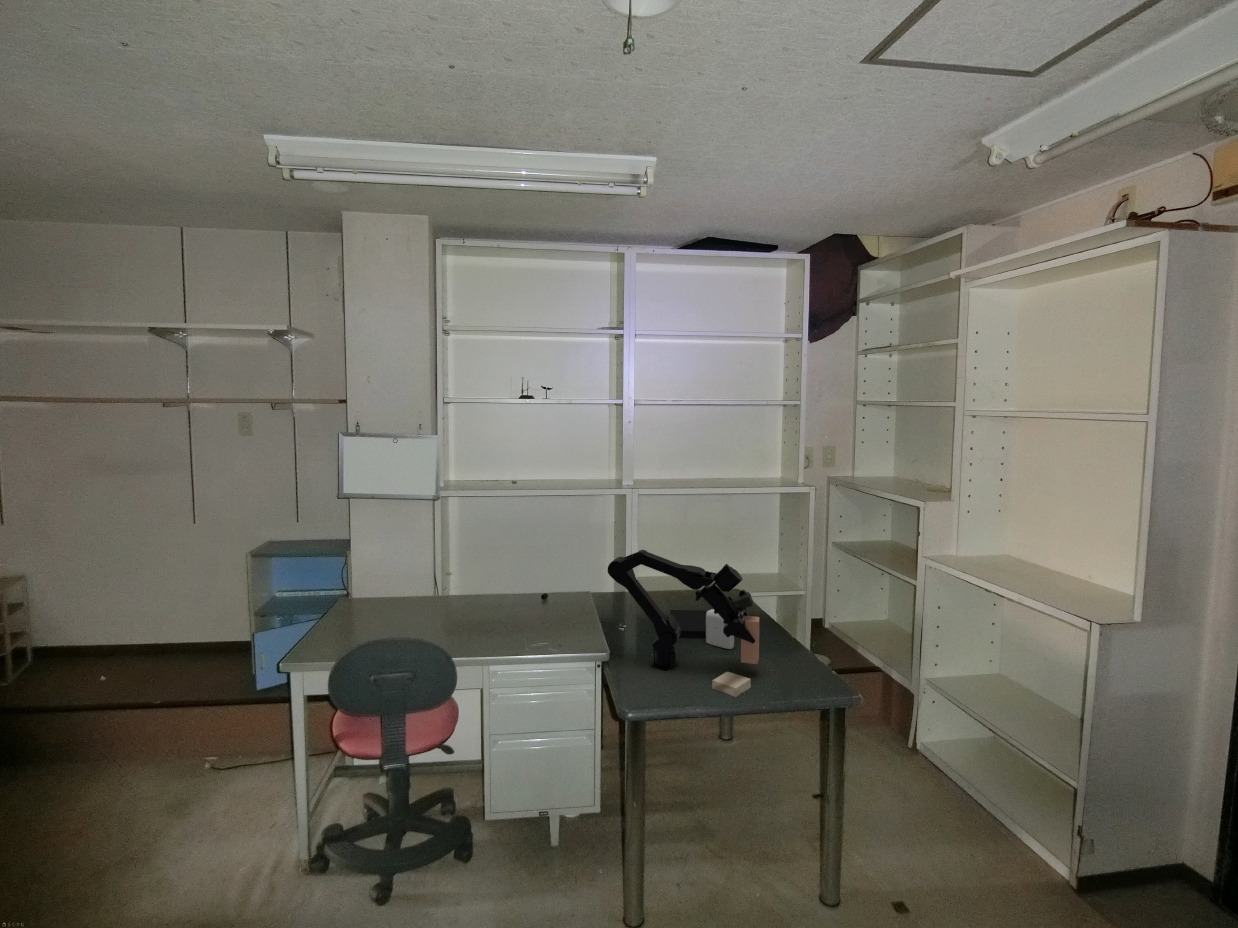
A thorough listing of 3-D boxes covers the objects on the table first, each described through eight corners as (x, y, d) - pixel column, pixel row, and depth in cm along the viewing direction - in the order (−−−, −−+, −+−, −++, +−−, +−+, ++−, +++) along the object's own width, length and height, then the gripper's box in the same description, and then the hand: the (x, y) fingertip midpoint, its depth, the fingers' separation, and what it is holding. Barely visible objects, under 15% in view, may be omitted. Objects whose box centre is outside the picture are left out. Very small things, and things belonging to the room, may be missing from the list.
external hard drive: (670, 638, 226) (669, 630, 225) (670, 617, 248) (670, 609, 248) (710, 639, 224) (710, 631, 224) (706, 617, 247) (706, 610, 247)
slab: (712, 690, 184) (712, 680, 184) (727, 680, 190) (727, 671, 190) (736, 698, 179) (736, 688, 179) (750, 688, 185) (750, 678, 185)
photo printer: (703, 643, 220) (704, 608, 219) (711, 639, 223) (711, 605, 222) (729, 650, 213) (729, 615, 212) (736, 647, 216) (736, 611, 215)
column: (740, 662, 192) (741, 620, 191) (742, 656, 197) (743, 615, 196) (757, 664, 191) (758, 622, 190) (758, 658, 195) (759, 616, 194)
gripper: (734, 593, 184) (773, 633, 182) (740, 576, 202) (775, 612, 200) (707, 617, 187) (745, 657, 185) (715, 598, 205) (749, 634, 203)
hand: (754, 639), depth 193 cm, fingers closed on column, 5 cm apart
